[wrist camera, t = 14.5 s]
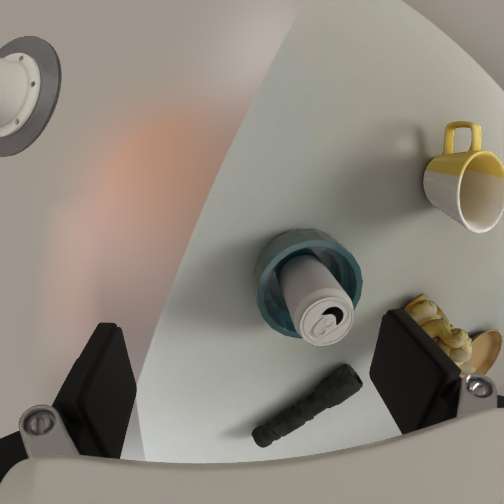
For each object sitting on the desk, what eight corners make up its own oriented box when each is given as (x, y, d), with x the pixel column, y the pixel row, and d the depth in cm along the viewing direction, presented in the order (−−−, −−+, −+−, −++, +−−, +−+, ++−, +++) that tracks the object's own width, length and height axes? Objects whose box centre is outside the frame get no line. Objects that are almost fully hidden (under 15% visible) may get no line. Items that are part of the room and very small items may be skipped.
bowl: (253, 317, 44) (257, 341, 38) (252, 227, 40) (257, 241, 34) (340, 311, 44) (354, 333, 39) (349, 226, 40) (367, 238, 35)
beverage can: (334, 270, 41) (370, 314, 30) (303, 306, 42) (327, 358, 31) (299, 243, 40) (327, 281, 28) (267, 281, 41) (282, 331, 30)
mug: (454, 220, 41) (498, 239, 31) (404, 207, 40) (449, 226, 30) (469, 136, 37) (516, 139, 27) (420, 114, 36) (468, 111, 26)
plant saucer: (460, 329, 49) (467, 336, 46) (503, 319, 50) (510, 325, 47) (437, 387, 53) (442, 395, 51) (481, 373, 54) (487, 380, 52)
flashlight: (357, 372, 49) (368, 391, 44) (266, 433, 52) (269, 453, 47) (342, 358, 47) (352, 377, 43) (248, 423, 51) (250, 443, 46)
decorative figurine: (440, 316, 47) (490, 364, 33) (406, 348, 48) (449, 403, 34) (419, 282, 44) (476, 330, 30) (381, 318, 46) (428, 377, 31)
